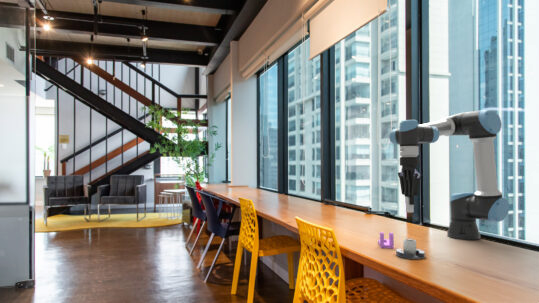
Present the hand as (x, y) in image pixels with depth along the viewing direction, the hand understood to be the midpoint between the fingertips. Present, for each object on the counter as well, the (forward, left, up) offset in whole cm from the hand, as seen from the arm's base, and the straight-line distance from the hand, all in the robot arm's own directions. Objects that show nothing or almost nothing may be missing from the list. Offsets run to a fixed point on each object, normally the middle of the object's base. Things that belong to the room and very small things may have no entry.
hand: (409, 212), depth 148 cm
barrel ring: (0, 0, -18) cm, 18 cm away
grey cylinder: (0, 0, -18) cm, 18 cm away
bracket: (-1, -20, -19) cm, 27 cm away
